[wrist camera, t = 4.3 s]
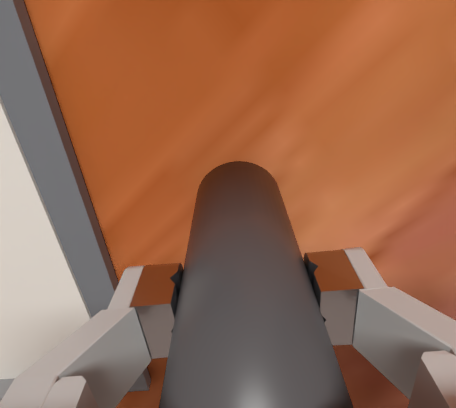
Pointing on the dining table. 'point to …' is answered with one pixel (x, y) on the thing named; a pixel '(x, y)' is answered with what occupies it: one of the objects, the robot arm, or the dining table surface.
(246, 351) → the marker
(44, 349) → the clipboard
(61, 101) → the dining table surface
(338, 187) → the dining table surface
